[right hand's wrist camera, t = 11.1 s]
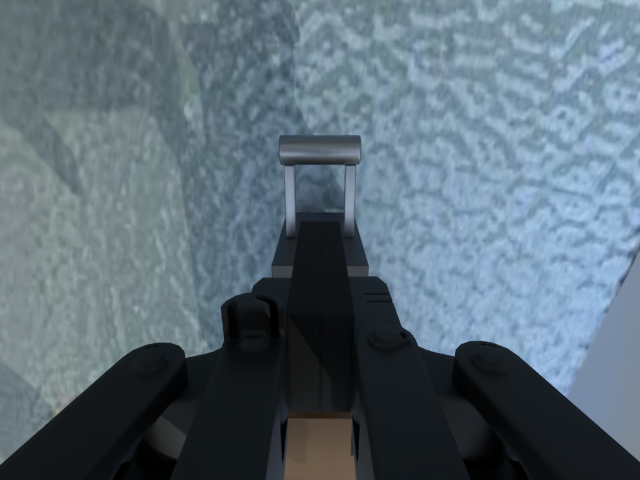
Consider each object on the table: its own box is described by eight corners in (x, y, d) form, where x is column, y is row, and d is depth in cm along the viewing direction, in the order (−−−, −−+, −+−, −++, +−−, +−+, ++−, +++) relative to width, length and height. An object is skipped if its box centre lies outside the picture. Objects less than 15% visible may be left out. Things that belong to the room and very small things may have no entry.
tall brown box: (284, 312, 32) (266, 418, 21) (356, 312, 32) (374, 418, 21) (289, 451, 38) (277, 590, 27) (350, 451, 38) (362, 590, 27)
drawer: (284, 128, 26) (265, 143, 17) (356, 128, 26) (375, 144, 17) (292, 374, 33) (281, 475, 24) (348, 374, 33) (358, 475, 24)
